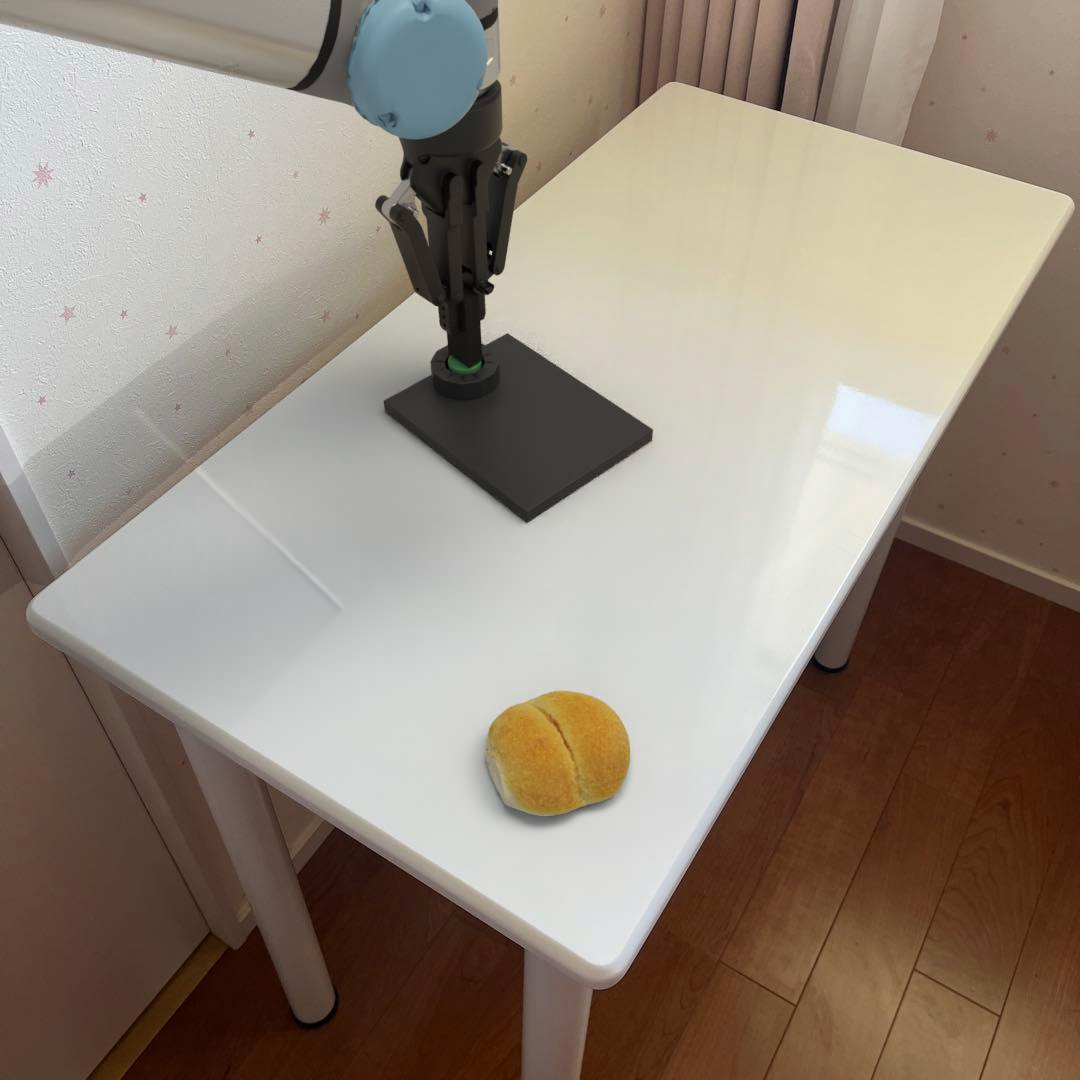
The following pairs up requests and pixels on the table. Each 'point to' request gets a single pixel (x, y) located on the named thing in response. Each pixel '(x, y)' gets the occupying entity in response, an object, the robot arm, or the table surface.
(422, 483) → the table surface
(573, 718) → the bread roll
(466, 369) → the button
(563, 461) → the scale
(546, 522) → the table surface
